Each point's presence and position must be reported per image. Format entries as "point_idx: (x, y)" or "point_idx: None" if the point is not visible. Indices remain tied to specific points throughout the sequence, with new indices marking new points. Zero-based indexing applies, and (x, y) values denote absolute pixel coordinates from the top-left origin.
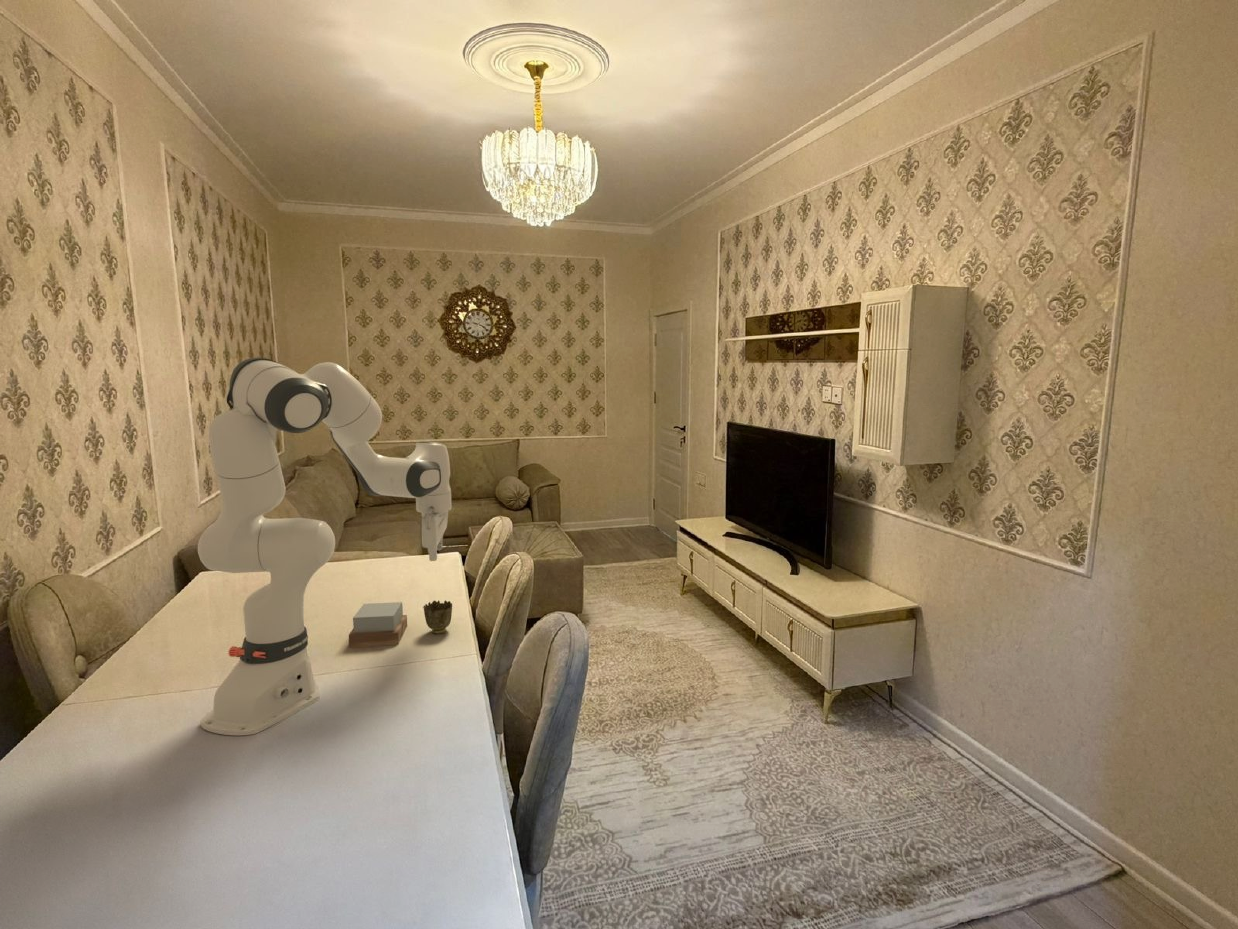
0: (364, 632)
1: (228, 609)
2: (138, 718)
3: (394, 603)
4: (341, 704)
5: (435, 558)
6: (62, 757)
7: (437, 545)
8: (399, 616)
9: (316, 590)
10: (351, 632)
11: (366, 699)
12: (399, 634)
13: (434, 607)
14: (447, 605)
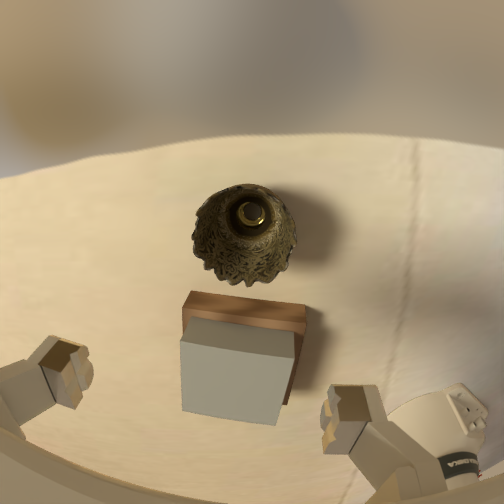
0: None
1: (112, 475)
2: None
3: (188, 358)
4: (488, 354)
5: (375, 398)
6: None
7: (73, 388)
8: (228, 331)
9: None
10: None
11: (495, 326)
12: (289, 314)
13: (205, 244)
14: (210, 202)
